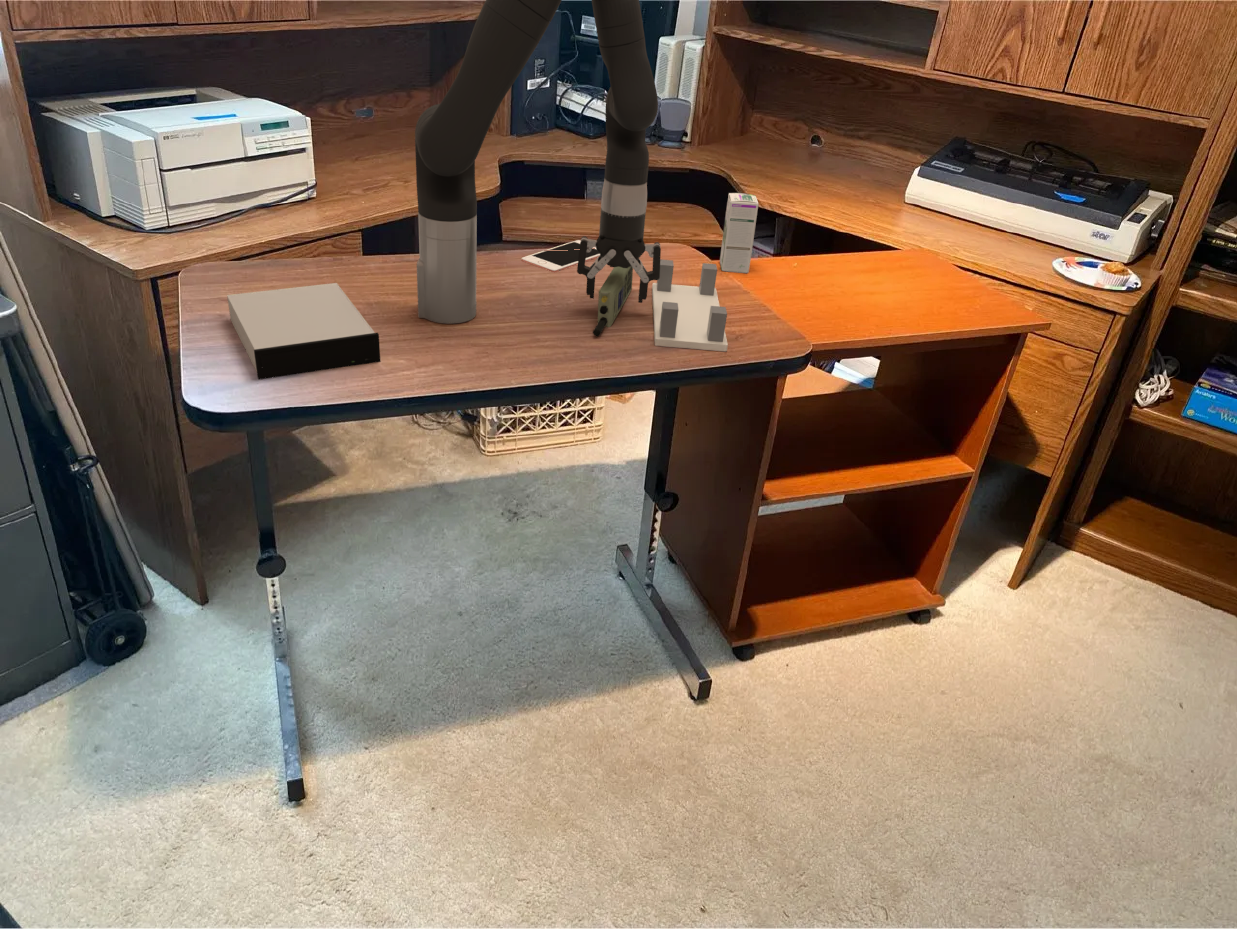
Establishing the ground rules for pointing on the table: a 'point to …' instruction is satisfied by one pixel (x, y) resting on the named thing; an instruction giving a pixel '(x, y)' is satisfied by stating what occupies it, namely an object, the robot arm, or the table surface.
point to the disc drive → (302, 330)
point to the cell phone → (560, 257)
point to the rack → (688, 311)
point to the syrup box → (738, 232)
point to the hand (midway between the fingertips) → (616, 299)
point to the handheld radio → (613, 296)
